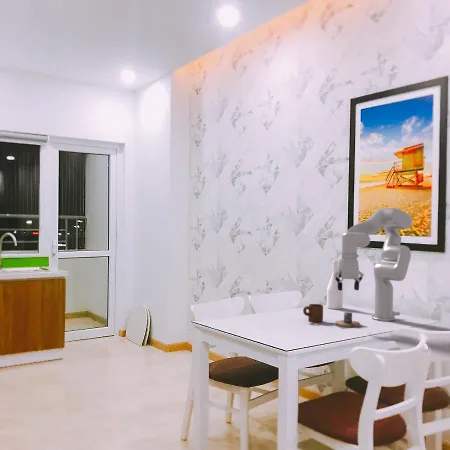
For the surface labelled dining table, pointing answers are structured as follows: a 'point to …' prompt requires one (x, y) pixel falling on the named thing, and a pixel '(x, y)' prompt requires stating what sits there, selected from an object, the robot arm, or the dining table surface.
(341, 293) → the wine bottle
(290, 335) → the dining table surface
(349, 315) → the copper lid
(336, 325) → the rubber mat
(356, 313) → the dining table surface
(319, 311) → the mug
